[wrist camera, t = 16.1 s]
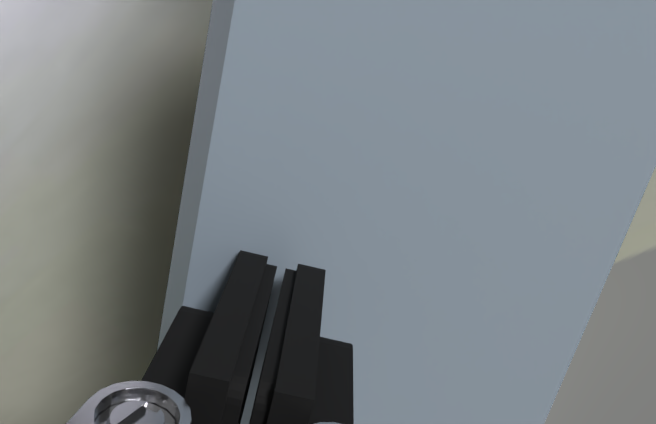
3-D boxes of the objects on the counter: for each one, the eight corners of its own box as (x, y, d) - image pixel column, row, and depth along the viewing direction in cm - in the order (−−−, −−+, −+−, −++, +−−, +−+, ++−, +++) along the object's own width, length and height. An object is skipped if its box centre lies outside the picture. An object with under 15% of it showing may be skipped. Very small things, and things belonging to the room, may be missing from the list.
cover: (434, 613, 23) (450, 639, 22) (93, 747, 17) (99, 789, 16) (872, -453, 12) (934, -476, 12) (391, -1120, 6) (451, -1266, 6)
